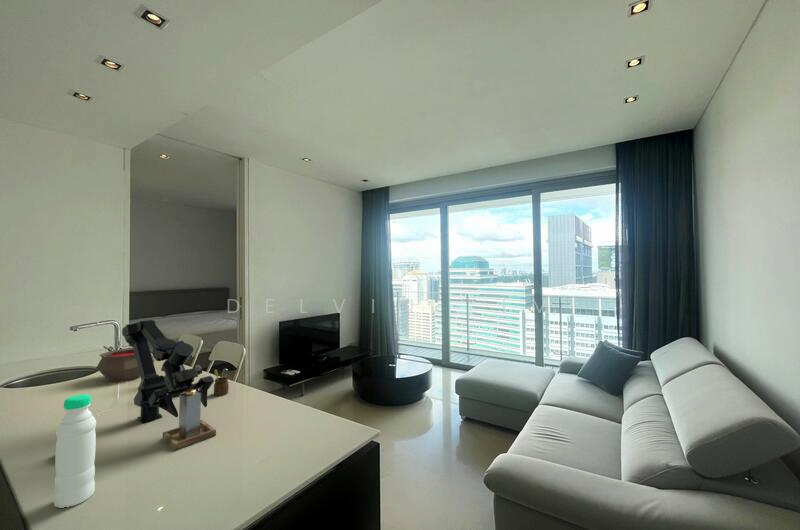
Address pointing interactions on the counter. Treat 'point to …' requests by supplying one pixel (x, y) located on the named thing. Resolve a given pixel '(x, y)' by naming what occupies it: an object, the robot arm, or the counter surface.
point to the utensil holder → (220, 385)
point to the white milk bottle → (75, 453)
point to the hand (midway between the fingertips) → (192, 411)
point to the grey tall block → (189, 414)
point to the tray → (179, 442)
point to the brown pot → (119, 365)
